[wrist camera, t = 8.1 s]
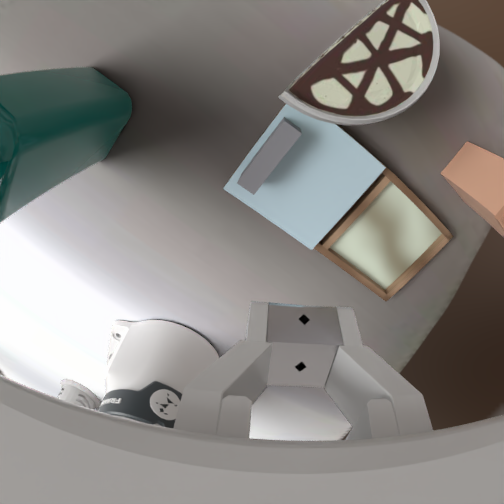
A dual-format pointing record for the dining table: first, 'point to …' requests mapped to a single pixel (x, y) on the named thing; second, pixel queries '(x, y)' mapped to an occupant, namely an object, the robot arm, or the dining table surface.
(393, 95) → the food container
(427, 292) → the dining table surface
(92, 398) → the french press
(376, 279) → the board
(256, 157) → the cover
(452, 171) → the canister
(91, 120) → the green bottle
